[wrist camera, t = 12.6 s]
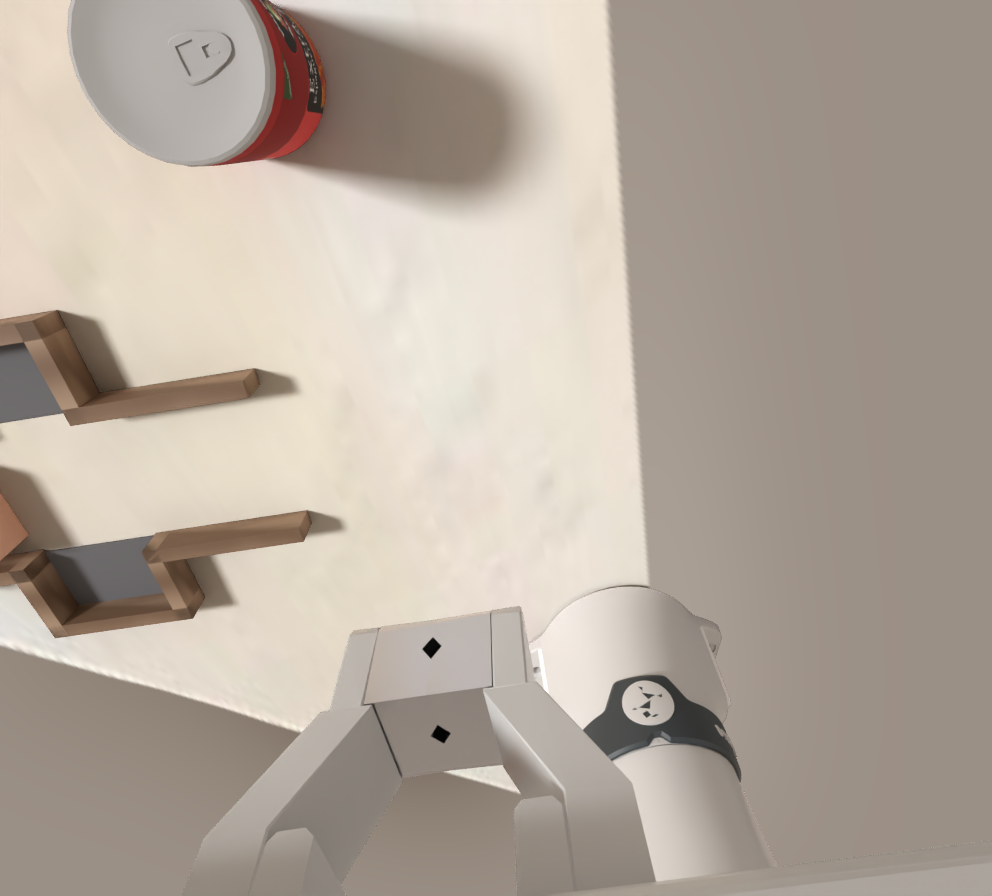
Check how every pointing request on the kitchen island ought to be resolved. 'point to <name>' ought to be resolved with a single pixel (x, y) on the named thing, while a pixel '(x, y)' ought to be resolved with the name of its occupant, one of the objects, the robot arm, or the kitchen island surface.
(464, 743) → the robot arm
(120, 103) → the canned food
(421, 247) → the kitchen island surface
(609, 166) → the kitchen island surface
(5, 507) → the block
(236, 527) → the box
